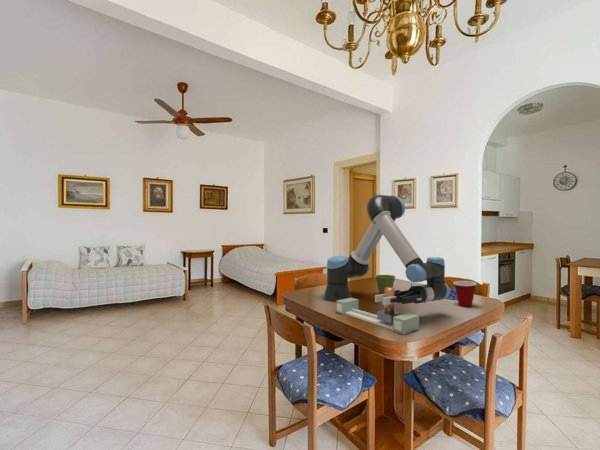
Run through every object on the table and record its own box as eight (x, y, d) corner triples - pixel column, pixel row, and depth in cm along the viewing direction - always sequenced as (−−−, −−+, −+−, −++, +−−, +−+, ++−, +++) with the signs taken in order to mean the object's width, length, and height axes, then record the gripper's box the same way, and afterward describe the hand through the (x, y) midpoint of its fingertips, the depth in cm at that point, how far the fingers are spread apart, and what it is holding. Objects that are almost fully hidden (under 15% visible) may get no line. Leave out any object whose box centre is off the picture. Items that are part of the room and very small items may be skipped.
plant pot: (391, 292, 187) (391, 274, 187) (398, 297, 175) (398, 277, 175) (372, 293, 186) (372, 274, 186) (378, 297, 174) (378, 278, 174)
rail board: (335, 312, 146) (335, 300, 146) (351, 308, 152) (351, 297, 152) (403, 335, 116) (403, 320, 116) (419, 329, 122) (419, 315, 122)
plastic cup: (448, 303, 163) (448, 280, 163) (468, 302, 163) (468, 280, 163) (460, 308, 152) (460, 284, 152) (481, 308, 153) (481, 284, 153)
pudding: (465, 301, 168) (465, 291, 168) (442, 299, 171) (442, 290, 171) (459, 296, 180) (459, 287, 180) (437, 294, 183) (437, 286, 183)
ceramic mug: (426, 298, 174) (426, 284, 174) (411, 297, 176) (411, 283, 176) (424, 294, 184) (424, 281, 184) (409, 293, 186) (409, 280, 186)
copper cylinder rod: (377, 318, 128) (377, 287, 128) (387, 315, 133) (387, 285, 132) (391, 323, 123) (391, 290, 123) (401, 319, 127) (401, 288, 127)
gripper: (436, 307, 128) (394, 314, 118) (405, 298, 143) (365, 304, 133) (436, 289, 128) (394, 295, 118) (405, 282, 143) (365, 286, 133)
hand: (379, 300), depth 125 cm, fingers closed on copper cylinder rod, 4 cm apart
